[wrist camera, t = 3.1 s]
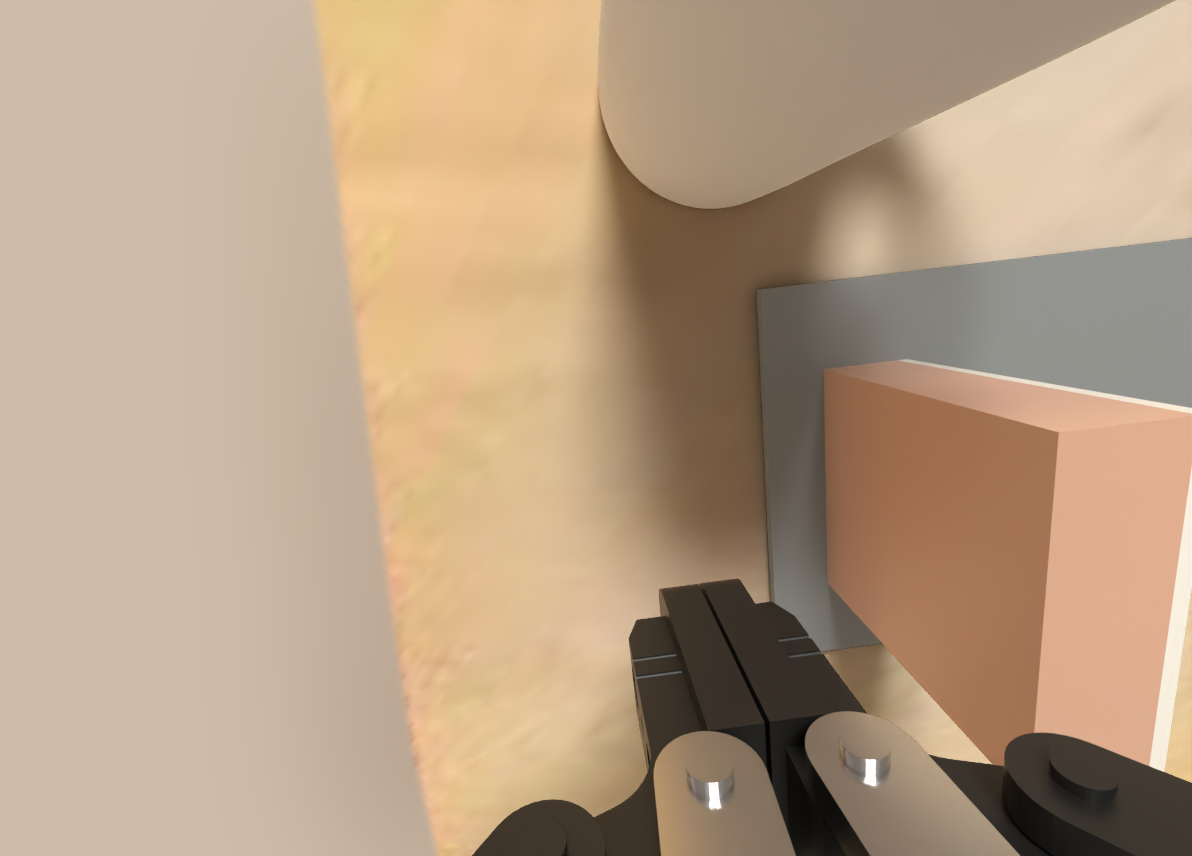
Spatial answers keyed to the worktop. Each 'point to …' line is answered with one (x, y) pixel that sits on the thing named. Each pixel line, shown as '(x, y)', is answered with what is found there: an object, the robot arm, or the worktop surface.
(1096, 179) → the worktop surface
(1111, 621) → the tile
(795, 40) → the mug
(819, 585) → the mat
